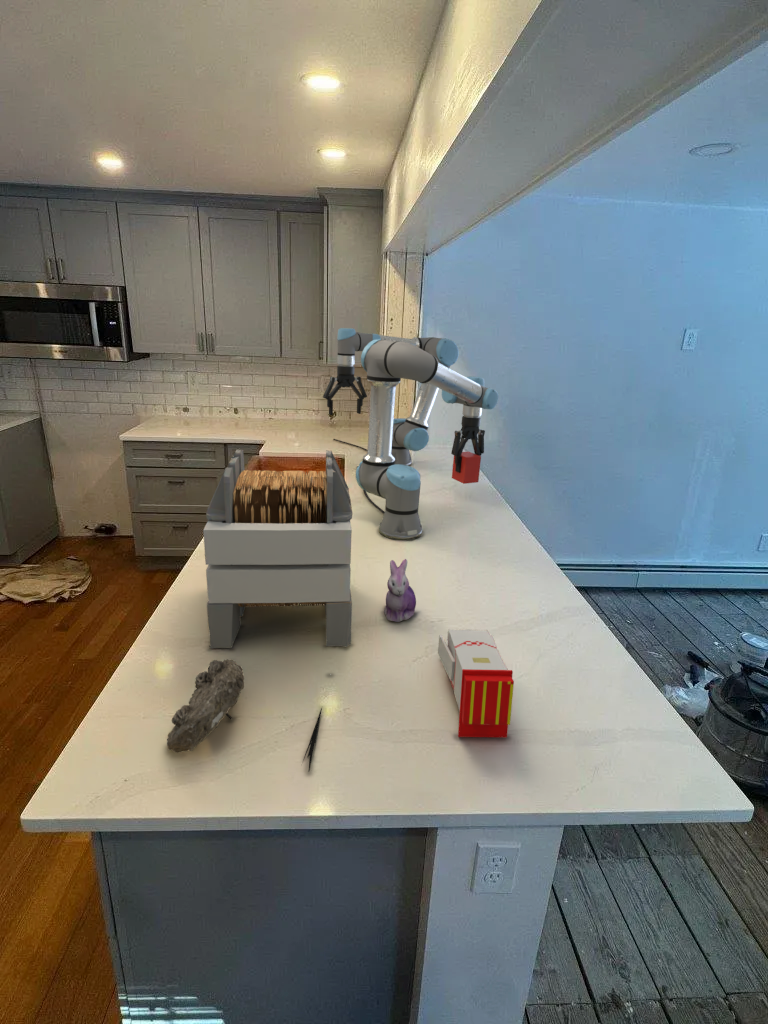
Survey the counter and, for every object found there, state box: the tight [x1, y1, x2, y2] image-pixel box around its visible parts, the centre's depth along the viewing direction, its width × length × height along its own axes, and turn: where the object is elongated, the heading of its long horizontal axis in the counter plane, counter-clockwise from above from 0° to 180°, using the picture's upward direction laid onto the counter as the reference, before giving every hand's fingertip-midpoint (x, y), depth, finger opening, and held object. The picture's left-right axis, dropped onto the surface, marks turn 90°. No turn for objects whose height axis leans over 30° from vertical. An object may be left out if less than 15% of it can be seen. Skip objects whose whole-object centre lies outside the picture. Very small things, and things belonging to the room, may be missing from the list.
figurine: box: [384, 558, 417, 623], centre depth 145 cm, size 9×10×15 cm
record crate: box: [202, 448, 353, 650], centre depth 139 cm, size 34×33×41 cm
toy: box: [437, 628, 515, 738], centre depth 117 cm, size 12×13×30 cm
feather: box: [301, 673, 332, 771], centre depth 108 cm, size 2×28×2 cm
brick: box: [451, 450, 482, 485], centre depth 235 cm, size 9×7×11 cm
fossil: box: [166, 658, 245, 754], centre depth 106 cm, size 22×10×15 cm
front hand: (465, 470), depth 236 cm, fingers closed on brick, 7 cm apart
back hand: (344, 414), depth 254 cm, fingers open, 13 cm apart
